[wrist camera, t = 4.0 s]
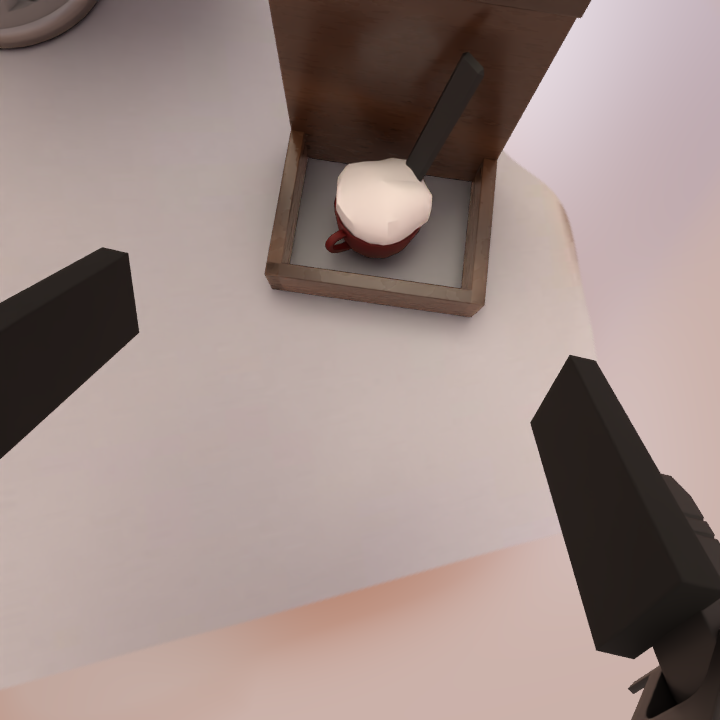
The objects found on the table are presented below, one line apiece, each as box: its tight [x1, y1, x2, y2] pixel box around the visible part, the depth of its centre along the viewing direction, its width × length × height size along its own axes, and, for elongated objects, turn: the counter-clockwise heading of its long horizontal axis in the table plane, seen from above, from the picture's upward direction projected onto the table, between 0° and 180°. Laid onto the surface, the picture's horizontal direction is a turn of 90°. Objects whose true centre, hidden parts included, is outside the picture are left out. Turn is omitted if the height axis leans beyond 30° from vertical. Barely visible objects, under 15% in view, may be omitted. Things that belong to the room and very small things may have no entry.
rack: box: [265, 0, 591, 317], centre depth 25 cm, size 13×15×15 cm
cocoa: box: [325, 52, 484, 258], centre depth 27 cm, size 10×6×12 cm, turn 105°
